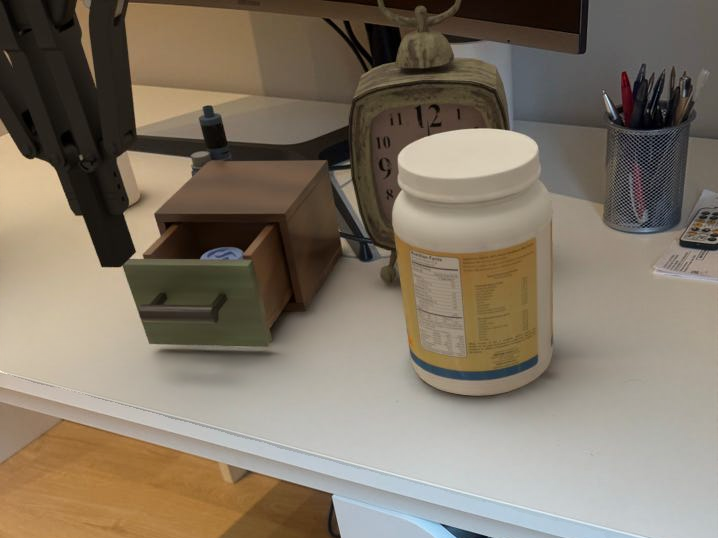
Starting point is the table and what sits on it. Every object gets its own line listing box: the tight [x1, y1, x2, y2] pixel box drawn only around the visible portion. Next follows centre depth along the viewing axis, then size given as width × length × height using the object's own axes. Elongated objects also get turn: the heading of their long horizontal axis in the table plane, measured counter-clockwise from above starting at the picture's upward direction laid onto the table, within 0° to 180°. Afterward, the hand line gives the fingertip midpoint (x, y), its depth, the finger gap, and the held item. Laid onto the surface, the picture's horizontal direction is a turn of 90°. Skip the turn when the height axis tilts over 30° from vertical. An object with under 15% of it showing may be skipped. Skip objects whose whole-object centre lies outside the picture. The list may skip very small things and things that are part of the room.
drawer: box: [121, 222, 294, 348], centre depth 81 cm, size 16×11×7 cm
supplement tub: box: [392, 129, 554, 397], centre depth 71 cm, size 12×12×17 cm
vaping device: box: [190, 104, 233, 178], centre depth 98 cm, size 3×5×12 cm, turn 147°
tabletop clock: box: [347, 0, 511, 284], centre depth 82 cm, size 14×9×25 cm, turn 89°
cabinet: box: [153, 159, 343, 312], centre depth 89 cm, size 14×13×9 cm
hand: (119, 259), depth 66 cm, fingers closed
